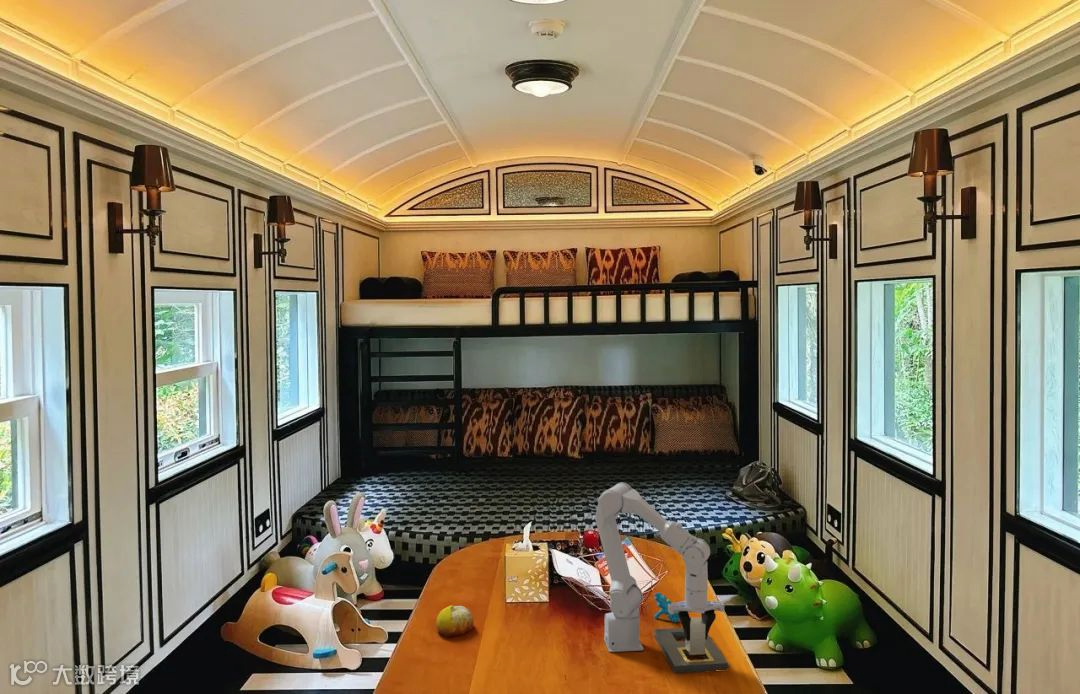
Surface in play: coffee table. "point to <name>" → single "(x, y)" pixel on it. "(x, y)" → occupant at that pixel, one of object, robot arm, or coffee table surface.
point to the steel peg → (696, 637)
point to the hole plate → (679, 653)
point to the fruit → (454, 621)
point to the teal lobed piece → (665, 607)
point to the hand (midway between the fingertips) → (695, 638)
